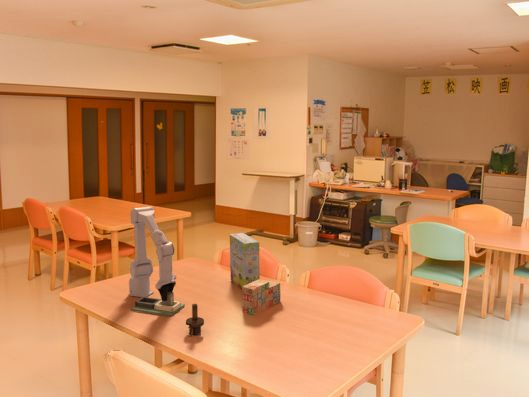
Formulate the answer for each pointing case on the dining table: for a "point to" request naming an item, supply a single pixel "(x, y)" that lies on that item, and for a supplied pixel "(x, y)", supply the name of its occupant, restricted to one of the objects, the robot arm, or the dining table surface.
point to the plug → (169, 299)
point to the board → (156, 306)
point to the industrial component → (195, 321)
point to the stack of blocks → (259, 296)
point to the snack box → (244, 259)
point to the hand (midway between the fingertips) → (166, 299)
